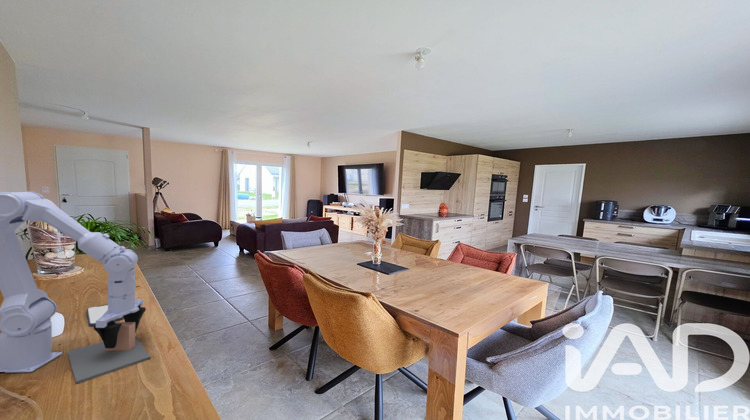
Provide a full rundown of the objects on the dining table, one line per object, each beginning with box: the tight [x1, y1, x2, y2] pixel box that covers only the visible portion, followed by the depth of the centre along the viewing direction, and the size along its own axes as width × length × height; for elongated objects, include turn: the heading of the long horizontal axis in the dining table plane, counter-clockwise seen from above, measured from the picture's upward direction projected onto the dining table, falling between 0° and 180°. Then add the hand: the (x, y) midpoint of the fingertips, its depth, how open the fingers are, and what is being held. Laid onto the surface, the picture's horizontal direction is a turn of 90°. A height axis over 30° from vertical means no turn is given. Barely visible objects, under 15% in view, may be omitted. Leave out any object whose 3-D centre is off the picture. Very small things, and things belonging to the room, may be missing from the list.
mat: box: [67, 335, 151, 385], centre depth 77 cm, size 18×14×1 cm
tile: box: [105, 321, 136, 350], centre depth 80 cm, size 6×3×7 cm, turn 97°
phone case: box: [85, 303, 124, 328], centre depth 99 cm, size 9×2×16 cm
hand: (121, 340), depth 80 cm, fingers open, 7 cm apart
